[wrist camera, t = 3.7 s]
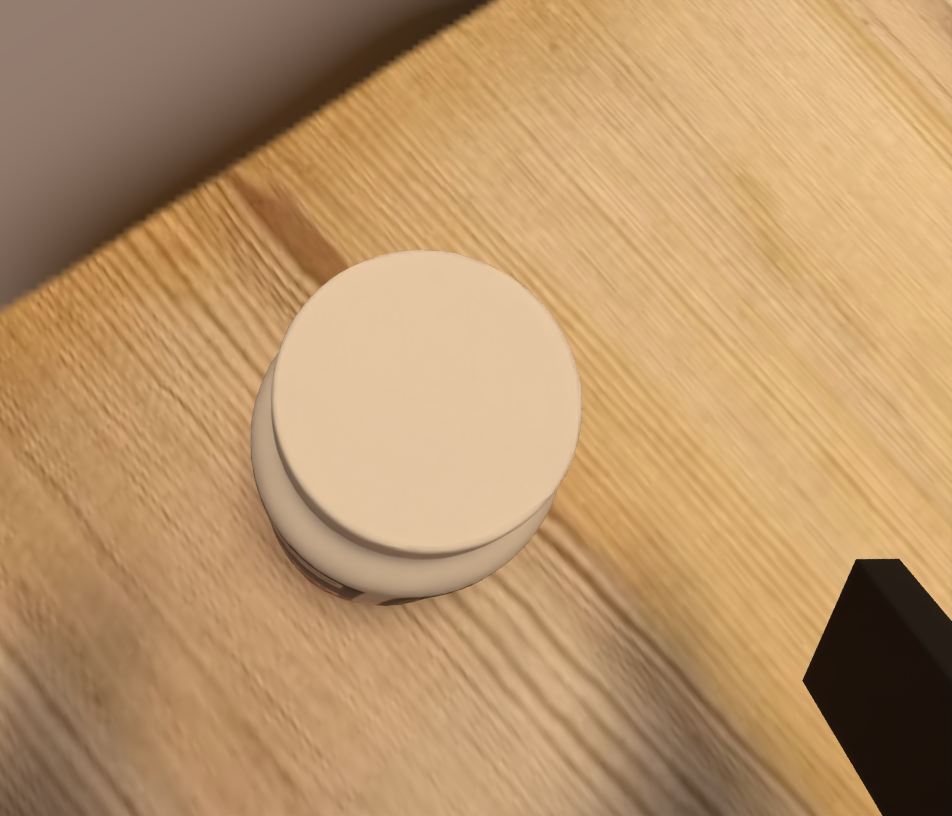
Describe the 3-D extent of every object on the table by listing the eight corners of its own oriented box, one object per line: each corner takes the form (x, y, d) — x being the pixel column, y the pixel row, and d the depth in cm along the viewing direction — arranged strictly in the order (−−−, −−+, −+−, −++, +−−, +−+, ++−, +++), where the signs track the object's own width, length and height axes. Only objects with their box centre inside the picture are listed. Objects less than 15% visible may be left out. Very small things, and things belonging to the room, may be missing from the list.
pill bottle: (498, 400, 23) (630, 249, 14) (481, 615, 22) (615, 610, 12) (283, 372, 22) (267, 189, 13) (250, 595, 21) (206, 572, 12)
